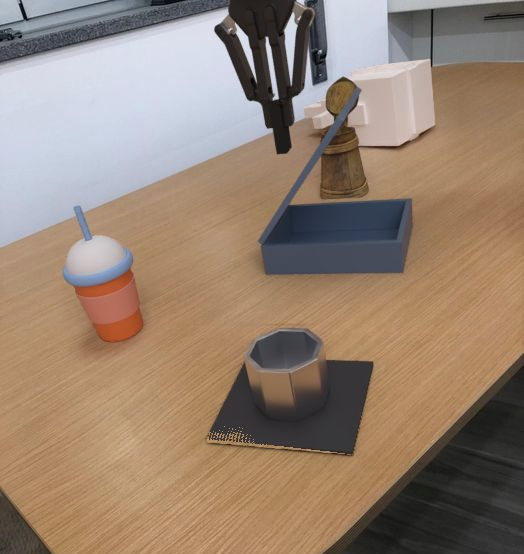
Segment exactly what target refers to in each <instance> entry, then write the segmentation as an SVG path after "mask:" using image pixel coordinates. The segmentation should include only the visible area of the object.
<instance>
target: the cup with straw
mask: <svg viewBox="0 0 524 554" xmlns="http://www.w3.org/2000/svg"><path fill="white" fill-rule="evenodd" d="M73 211H74V214H75V216H76V220H77V222H78V224H79V225H78V226H79V227H80V230H81V233H82V236H83V238H81V239H79V240H78V241H76V242H75V243H74V244H73V245H72V246H71V247H70V249H69V251H68V252H67V255H66V257H65V264H64V266H63V267H62V276H63V279H64V281H65V282H66V283H67V284H68V285H70V286H72V287H73V288H74V293H75V295H76V297H77V299H78V301H79V303H80V305H81V307H82V309H83V310H84V313H85V315H86V316H87V318H88V320H89V321H90V322H91V323H92V325H93V328H94V329H95V331H96V333H97V334H98V336H99V338H100V339H101V340H103V341H104V342H110V343H114V342H115V343H116V342H121V341H125V340H127V339H130V338H132V337H134V336H135V335H136V334H138V333H139V332H140V331H141V329H142V328H143V325H144V321H143V317H142V313H141V307H140V306H141V301H140V297H139V293H138V292H139V291H138V287H137V283H136V279H135V274H134V272H133V271H132V266H133V264H134V256H133V254H132V252H131V250H130V249H128V248H127V247H125V246H123V245H122V244H121V243H120V242H119V241H118V240H116V239H114V238H112V237H110V236H108V235H101V234H95V235H92V234H91V231H90V228H89V225H88V222H87V220H86V217H85V214H84V212H83V209H82V206H81V205H75V206H73Z"/></svg>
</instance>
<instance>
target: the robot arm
mask: <svg viewBox="0 0 524 554" xmlns="http://www.w3.org/2000/svg"><path fill="white" fill-rule="evenodd" d="M227 13H228V14H227V15H226V16H225V17H224V18H223V20H222V21H221V22H219V23H218V24H216V25H215V26H214V28H213V32H214V34H215V35H216V37H218V38H219V40H220V41H221V43H223V45H224V47H225V49H226V51H227V54H228V57H229V59H230V61H231V64H232V66H233V69H234V71H235V73H236V76H237V79H238V82H239V84H240V86H241V88H242V90H243V93H244V95H245V98H246V100H247V101H249V102H256V103H259V104H260V106H261V108H262V114H263V121H264V126H265V127H266V129H267V130H268V129H269V130H270V129H272V134H273V135H272V136H273V141H274V146H275V153H276V155H287V154H288V153H289V152H290V151H291V149H292V148H293V145H292V138H291V132H290V131H291V130H290V127H292V126H293V125H294V124H295V120H296V119H295V118H296V117H295V112H294V111H295V110H294V104H293V98H295V97H297V96H299V95H300V94H301V93H302V92H303V91H304V89H305V86H306V75H307V63H308V52H309V43H310V31H311V27H312V25H313V22H314V20H315V18H316V15H317V10H316V8H315V7H314V6H309V7H308V6H307V5H305V4H302V3H301V2H299V1H297V0H229V2H228V7H227ZM292 15H294V17H293V18H294V19H293V20H294V24H295V25H296V30H295V37H294V39H295V40H294V47H293V48H294V50H293V60H292V61H293V62H292V75H290V68H289V62H288V61H289V60H288V55H287V47H286V32H285V31H286V29H287V27H288V24H289V21H290V20H291V17H292ZM236 25H237V26H238V27H239V29H240V30H241V31H242V32H243V33H244V35H245V36H246V37H247V40H248V45H249V49H250V50H251V51H250V52H251V55H252V63H253V67H254V72H253V70H252V67H251V65H250V62H249V60H248V57H247V54H246V52H245V49H244V47H243V44H242V42H241V40H240V37H239V36H238V34H237V32H238V28H237V26H236ZM267 40H268V45H269V46H270V50H271V51H270V52H271V58H272V63H273V70H274V76H275V83H276V89H277V90H276V91H277V95H278V98H277V99H274V98H275V96H276V93H274V89H273V84H272V76H271V70H270V64H269V63H270V62H269V57H268V52H267V51H268V50H267ZM254 73H255V74H254Z"/></svg>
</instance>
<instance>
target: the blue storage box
mask: <svg viewBox="0 0 524 554" xmlns="http://www.w3.org/2000/svg"><path fill="white" fill-rule="evenodd" d="M413 224H414V221H413V198H411V197H407V198H393V199H392V198H390V199H389V198H388V199H372V200H371V199H370V200H355V201H354V200H353V201H334V202H315V203H314V202H313V203H295V204H289V205H288V207H287V208H286V210H285V211H284V213H283V214H282V216H281V217H280V219H279V220H278V222H277V223H276V225H275V226H274V228H273V229H272V231H271V233H270V234H269V236H268V237H267V239H266V240H265V242H264V243H263V245H262V244H260V251H261V257H262V262H263V267H264V272H265V276H269V275H270V276H273V275H277V276H279V275H280V276H281V275H344V274H345V275H346V274H349V275H350V274H351V275H352V274H403V273H404V270H405V265H406V261H407V257H408V251H409V247H410V241H411V237H412V232H413V226H414V225H413Z"/></svg>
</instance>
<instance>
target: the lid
mask: <svg viewBox="0 0 524 554" xmlns="http://www.w3.org/2000/svg"><path fill="white" fill-rule="evenodd" d="M361 91H362V90H361V89H360V88H359V87H356V89H355V90H354V92H353V93H352V95H351V97H350V98H349V100H348V101H347V103H346V104H345V106H344V107H343V109H342V110H341V112H340V114H339V115H338V117H337V118H336V120H335V121H334V123H333V124H332V125H330V127H329V128H328V129H329V131H328V132H327V134H326V135H325V137H324V138H323V140H322V141H321V143H320V145H319V144H318V146H317V148H316V149H315V151H314V153H313V154H312V156H311V157H310V159H309V160H308V162H307V163H306V164H305V166H304V167H303V169H302V170H301V172H300V174H299V175H298V177H297V178H296V180H295V182H294V183H293V185H292V186H291V188H290V190H288V193H287V194H286V196H285V197H284V199H283V201H282V202H281V204H280V205H279V206H278V208H277V209H276V211H275V213H274V214H273V216H272V218H271V219H270V220H269V223H268V224H267V226H265V229H264V230H263V232H262V233H261V235H260V236H259V238H258V240H257V243H259V244H260V245H263V243H264V242H265V240H266V239H267V237H268V236H269V234H270V233H271V231H272V229H273V228H274V226H275V225H276V223H277V222H278V220H279V219H280V217H281V216H282V214H283V213H284V211H285V210H286V208H287V207H288V205H291V203H292V201H293V199H294V198H295V196H296V194H297V193H298V191H299V190H300V188H301V187H302V185H303V184H304V182H305V181H306V179H307V178H308V176H309V175H310V173H311V172H312V170H313V169H314V167H315V166H316V164H317V163H318V162H319V159H321V155H322V153H323V152H324V150H325V149H326V147H327V146H328V144H329V143H330V141H331V140H332V138H333V137H334V135H335V134H336V132H337V130H338V129H339V127H340V126H341V124H342V123H343V121H344V120H345V118H346V116H347V115H348V113H349V111H350V110H351V108H352V106H353V104H354V103H355V101H356V99H357V98H358V96H359V94H360V93H361Z"/></svg>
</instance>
